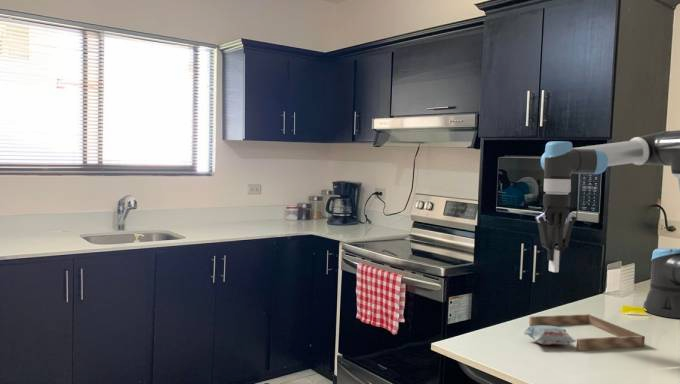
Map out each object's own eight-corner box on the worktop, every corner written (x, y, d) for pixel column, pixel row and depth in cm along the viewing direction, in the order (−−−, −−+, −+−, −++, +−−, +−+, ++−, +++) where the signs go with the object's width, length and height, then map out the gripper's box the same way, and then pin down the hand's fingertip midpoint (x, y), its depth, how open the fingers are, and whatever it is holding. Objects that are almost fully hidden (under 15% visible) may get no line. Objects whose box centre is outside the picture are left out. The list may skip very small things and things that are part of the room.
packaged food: (575, 349, 154) (576, 331, 154) (534, 347, 153) (535, 330, 153) (562, 340, 163) (563, 323, 163) (522, 338, 162) (523, 322, 162)
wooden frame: (587, 323, 183) (588, 314, 182) (644, 346, 159) (644, 336, 159) (529, 325, 177) (529, 316, 177) (578, 350, 154) (579, 339, 154)
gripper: (567, 192, 170) (564, 268, 171) (530, 192, 167) (527, 269, 168) (583, 194, 163) (580, 273, 164) (545, 193, 159) (542, 274, 160)
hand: (553, 271), depth 166 cm, fingers closed
